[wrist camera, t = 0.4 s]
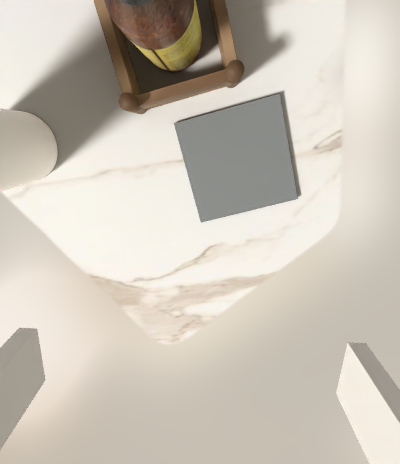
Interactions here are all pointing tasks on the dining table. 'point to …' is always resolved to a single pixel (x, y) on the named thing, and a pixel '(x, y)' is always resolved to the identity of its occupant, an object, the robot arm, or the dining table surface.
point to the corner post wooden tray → (141, 102)
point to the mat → (238, 158)
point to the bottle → (24, 149)
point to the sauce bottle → (160, 29)
